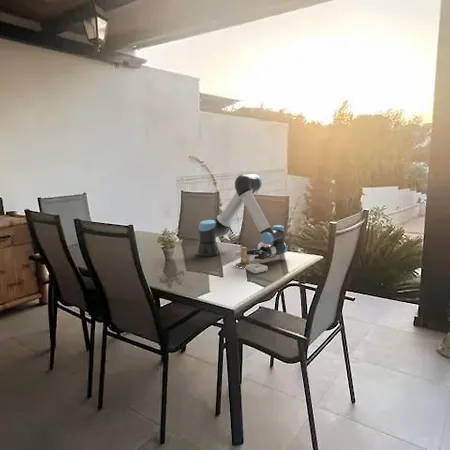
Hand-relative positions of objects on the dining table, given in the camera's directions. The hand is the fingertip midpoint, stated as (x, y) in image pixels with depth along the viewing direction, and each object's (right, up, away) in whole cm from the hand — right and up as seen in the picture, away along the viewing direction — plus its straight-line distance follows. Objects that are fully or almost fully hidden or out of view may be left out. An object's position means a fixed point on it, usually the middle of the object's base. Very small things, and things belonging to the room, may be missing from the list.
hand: (242, 256), depth 237 cm
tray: (+8, -8, -7) cm, 13 cm away
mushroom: (+13, +4, +30) cm, 33 cm away
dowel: (+1, -7, +2) cm, 7 cm away
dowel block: (+1, -7, +2) cm, 7 cm away
